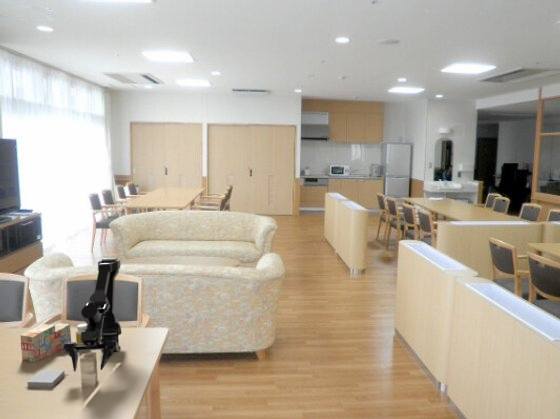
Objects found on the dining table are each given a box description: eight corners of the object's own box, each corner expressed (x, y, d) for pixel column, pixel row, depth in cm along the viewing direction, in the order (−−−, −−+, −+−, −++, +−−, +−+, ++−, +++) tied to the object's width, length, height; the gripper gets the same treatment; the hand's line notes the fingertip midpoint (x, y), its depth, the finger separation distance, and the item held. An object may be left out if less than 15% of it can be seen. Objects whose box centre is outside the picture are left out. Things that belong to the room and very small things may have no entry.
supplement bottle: (76, 344, 209) (75, 324, 208) (89, 342, 211) (88, 322, 210) (77, 349, 204) (75, 328, 203) (90, 347, 207) (89, 326, 205)
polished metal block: (85, 383, 175) (83, 352, 174) (97, 382, 176) (96, 352, 174) (81, 389, 171) (79, 358, 169) (94, 389, 172) (93, 357, 170)
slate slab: (41, 374, 179) (41, 369, 179) (64, 375, 179) (64, 370, 179) (27, 387, 170) (27, 381, 170) (52, 387, 170) (51, 382, 170)
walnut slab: (41, 378, 181) (41, 373, 180) (69, 379, 180) (69, 374, 180) (24, 393, 170) (24, 388, 170) (54, 394, 169) (54, 389, 169)
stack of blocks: (59, 342, 212) (58, 316, 210) (71, 344, 210) (70, 317, 209) (22, 363, 192) (19, 334, 190) (34, 365, 190) (32, 336, 188)
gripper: (62, 321, 173) (54, 364, 164) (115, 319, 175) (110, 361, 166) (70, 334, 182) (63, 374, 173) (121, 331, 184) (116, 371, 175)
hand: (88, 370), depth 171 cm, fingers open, 9 cm apart
